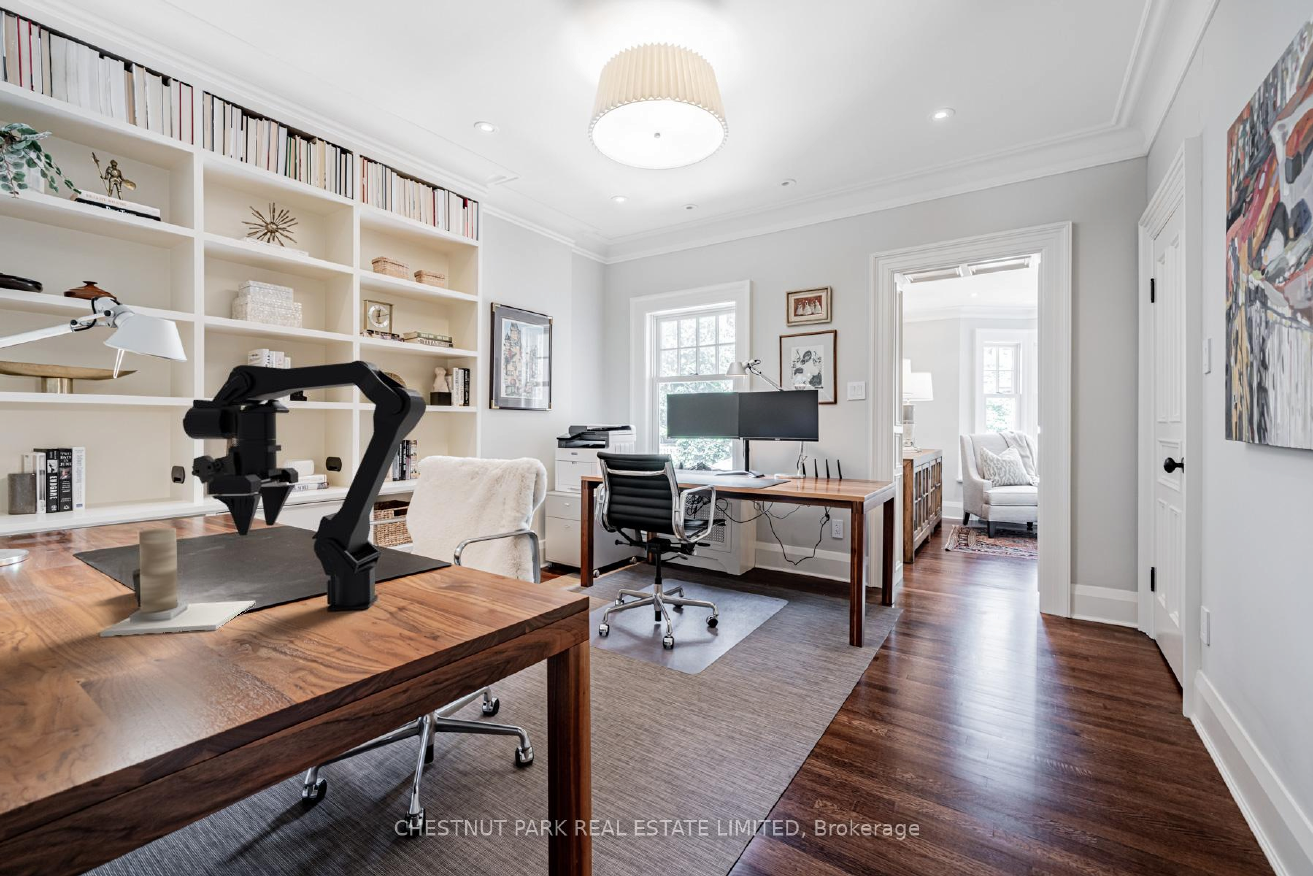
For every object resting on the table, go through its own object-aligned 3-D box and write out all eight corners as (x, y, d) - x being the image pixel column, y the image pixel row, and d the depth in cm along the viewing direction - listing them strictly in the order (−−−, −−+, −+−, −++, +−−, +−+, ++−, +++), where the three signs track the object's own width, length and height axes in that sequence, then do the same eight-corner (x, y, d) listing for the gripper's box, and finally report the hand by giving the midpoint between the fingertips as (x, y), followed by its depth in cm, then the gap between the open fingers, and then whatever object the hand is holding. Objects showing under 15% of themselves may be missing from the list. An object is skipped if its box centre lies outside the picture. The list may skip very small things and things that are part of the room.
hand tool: (171, 605, 94) (168, 578, 94) (139, 612, 91) (136, 584, 91) (161, 587, 108) (158, 563, 108) (132, 593, 105) (130, 568, 105)
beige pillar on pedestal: (187, 609, 93) (186, 527, 93) (170, 619, 88) (169, 532, 88) (148, 612, 92) (147, 528, 91) (129, 623, 87) (128, 534, 86)
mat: (255, 605, 98) (255, 600, 98) (215, 629, 86) (215, 624, 86) (155, 610, 95) (155, 605, 95) (100, 636, 83) (100, 631, 83)
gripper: (232, 438, 105) (233, 522, 105) (166, 441, 87) (168, 543, 87) (299, 438, 107) (300, 520, 107) (248, 441, 89) (250, 540, 89)
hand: (257, 530), depth 98 cm, fingers open, 9 cm apart
